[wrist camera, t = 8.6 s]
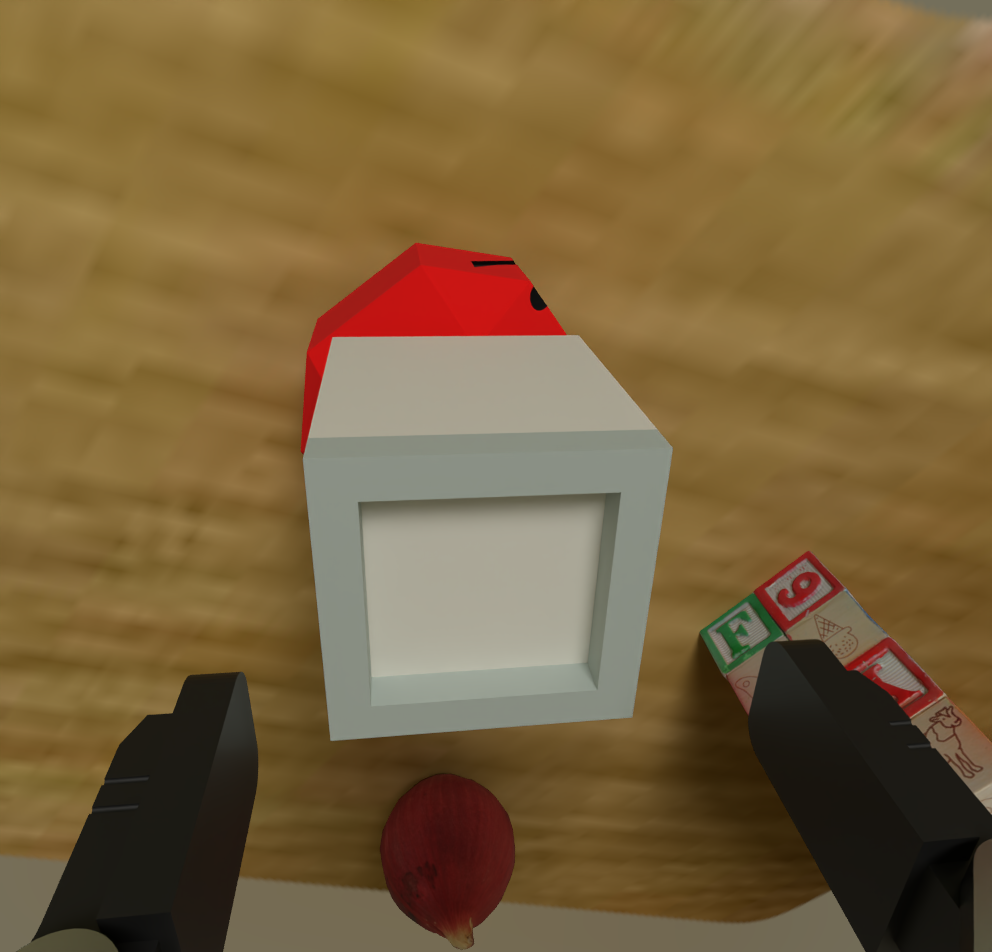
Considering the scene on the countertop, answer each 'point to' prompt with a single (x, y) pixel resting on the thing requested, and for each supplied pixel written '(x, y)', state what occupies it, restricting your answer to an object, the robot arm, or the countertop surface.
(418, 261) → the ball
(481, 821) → the onion
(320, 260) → the countertop surface
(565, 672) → the socket block
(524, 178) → the countertop surface
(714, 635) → the stack of blocks
